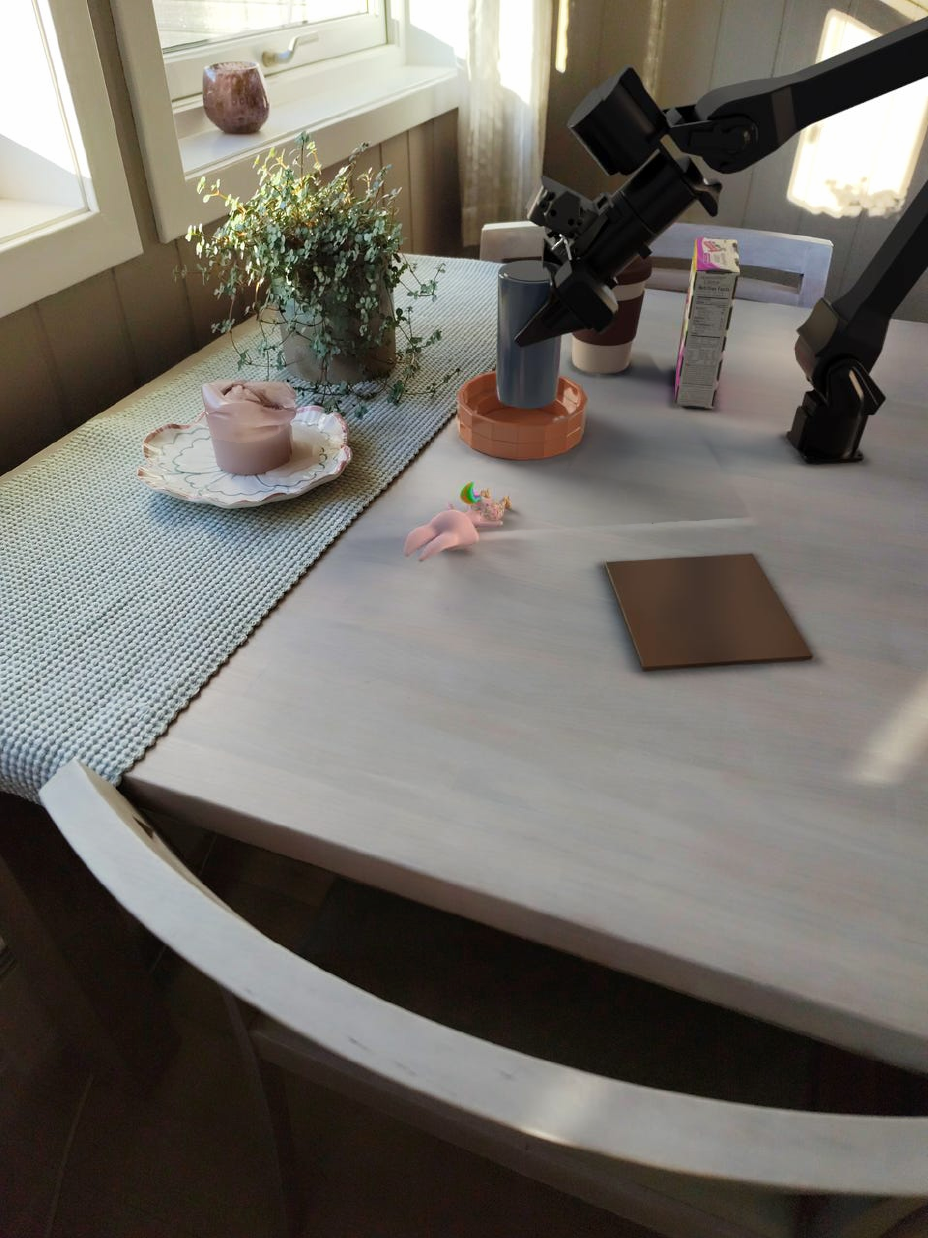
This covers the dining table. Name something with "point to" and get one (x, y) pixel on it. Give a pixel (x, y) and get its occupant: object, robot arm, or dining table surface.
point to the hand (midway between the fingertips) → (515, 329)
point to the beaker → (532, 368)
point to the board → (704, 612)
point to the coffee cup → (617, 341)
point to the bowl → (519, 421)
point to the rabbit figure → (457, 524)
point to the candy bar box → (706, 321)
